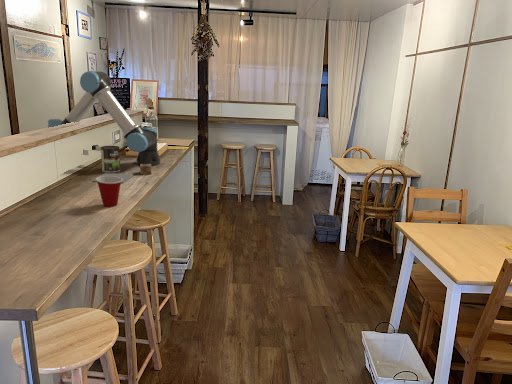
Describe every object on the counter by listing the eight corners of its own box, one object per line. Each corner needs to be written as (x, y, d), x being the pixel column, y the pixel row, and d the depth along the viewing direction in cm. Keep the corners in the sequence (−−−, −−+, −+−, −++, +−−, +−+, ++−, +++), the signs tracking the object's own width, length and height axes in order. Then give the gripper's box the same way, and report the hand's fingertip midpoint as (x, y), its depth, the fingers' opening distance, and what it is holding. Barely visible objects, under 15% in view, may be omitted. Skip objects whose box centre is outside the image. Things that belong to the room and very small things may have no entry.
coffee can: (124, 170, 231) (123, 147, 227) (109, 173, 223) (108, 149, 219) (112, 167, 237) (111, 144, 233) (98, 170, 228) (96, 146, 224)
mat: (132, 176, 220) (132, 174, 220) (123, 183, 205) (122, 181, 204) (104, 174, 220) (104, 173, 220) (92, 181, 205) (92, 180, 205)
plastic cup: (118, 209, 166) (117, 182, 162) (93, 208, 166) (91, 180, 162) (127, 201, 176) (126, 175, 173) (103, 200, 176) (101, 174, 173)
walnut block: (151, 172, 231) (151, 163, 230) (151, 174, 226) (150, 166, 224) (140, 172, 230) (140, 164, 228) (140, 174, 224) (140, 166, 223)
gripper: (84, 150, 249) (111, 154, 242) (52, 156, 227) (80, 161, 220) (84, 138, 247) (110, 142, 240) (51, 143, 225) (79, 147, 218)
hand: (96, 151), depth 230 cm, fingers open, 13 cm apart
